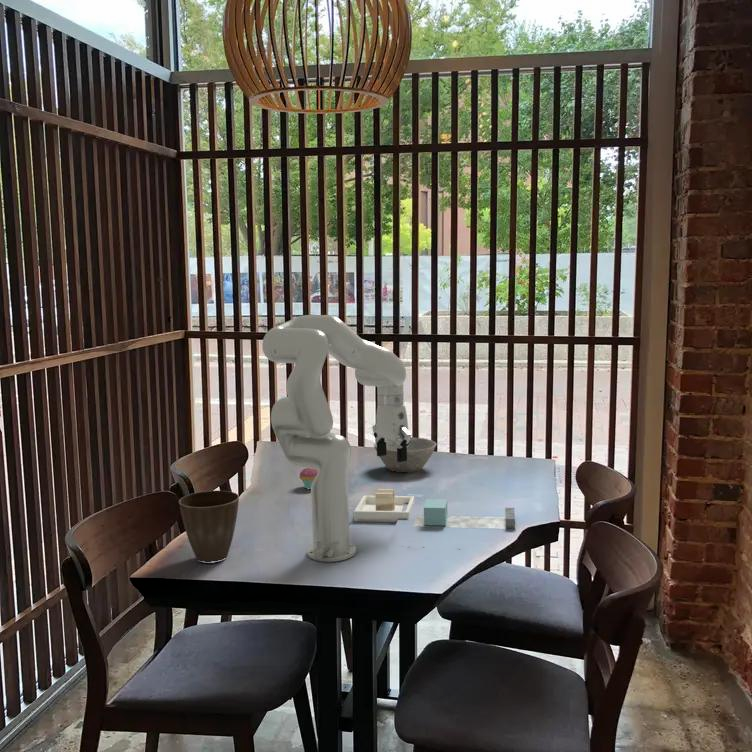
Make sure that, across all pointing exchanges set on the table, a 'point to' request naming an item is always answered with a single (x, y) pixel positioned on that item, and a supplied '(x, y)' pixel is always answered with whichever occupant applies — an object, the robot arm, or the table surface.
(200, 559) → the plant pot
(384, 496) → the wooden block
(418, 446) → the ceramic bowl
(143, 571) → the table surface
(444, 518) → the teal block
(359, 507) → the tray
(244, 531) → the table surface
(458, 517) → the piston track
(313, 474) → the cupcake
